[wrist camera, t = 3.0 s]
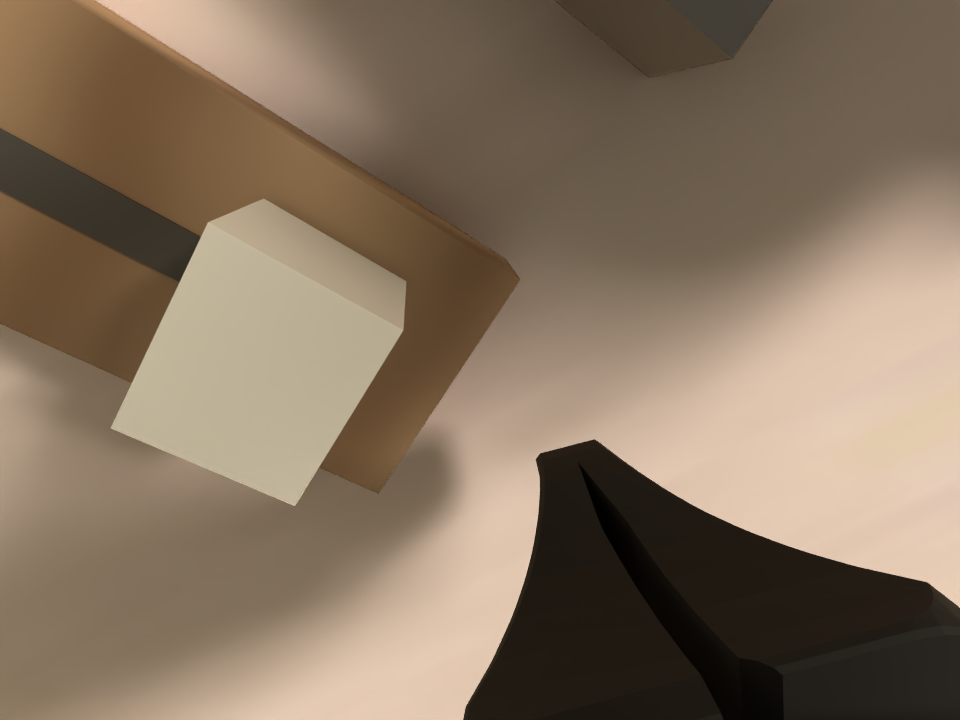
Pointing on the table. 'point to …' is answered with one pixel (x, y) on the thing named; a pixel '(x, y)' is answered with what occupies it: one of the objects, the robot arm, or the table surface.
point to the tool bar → (670, 29)
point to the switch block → (200, 213)
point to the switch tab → (264, 351)
